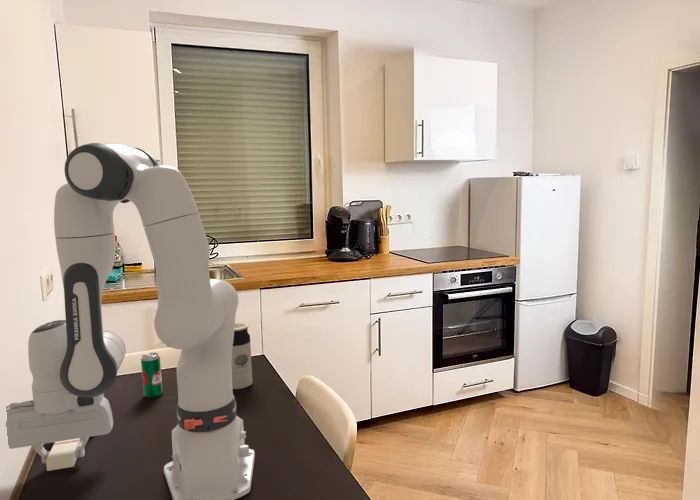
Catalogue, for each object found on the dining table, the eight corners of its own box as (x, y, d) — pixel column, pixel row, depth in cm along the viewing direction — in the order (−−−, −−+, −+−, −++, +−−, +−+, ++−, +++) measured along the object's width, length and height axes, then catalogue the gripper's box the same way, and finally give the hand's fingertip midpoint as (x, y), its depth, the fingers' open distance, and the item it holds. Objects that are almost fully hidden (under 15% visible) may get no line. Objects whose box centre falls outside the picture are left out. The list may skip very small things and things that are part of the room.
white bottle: (224, 381, 158) (220, 324, 155) (250, 378, 160) (247, 321, 158) (226, 391, 150) (222, 331, 148) (254, 387, 153) (250, 328, 150)
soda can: (156, 399, 146) (153, 358, 145) (140, 398, 147) (136, 357, 146) (166, 392, 151) (163, 352, 149) (150, 391, 152) (147, 351, 150)
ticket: (73, 466, 109) (72, 455, 109) (47, 471, 108) (45, 459, 108) (87, 432, 125) (86, 422, 124) (64, 435, 123) (63, 425, 123)
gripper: (-5, 410, 104) (3, 475, 106) (107, 395, 110) (112, 457, 112) (6, 398, 110) (13, 460, 112) (111, 385, 116) (116, 443, 118)
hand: (64, 458), depth 112 cm, fingers closed on ticket, 5 cm apart
